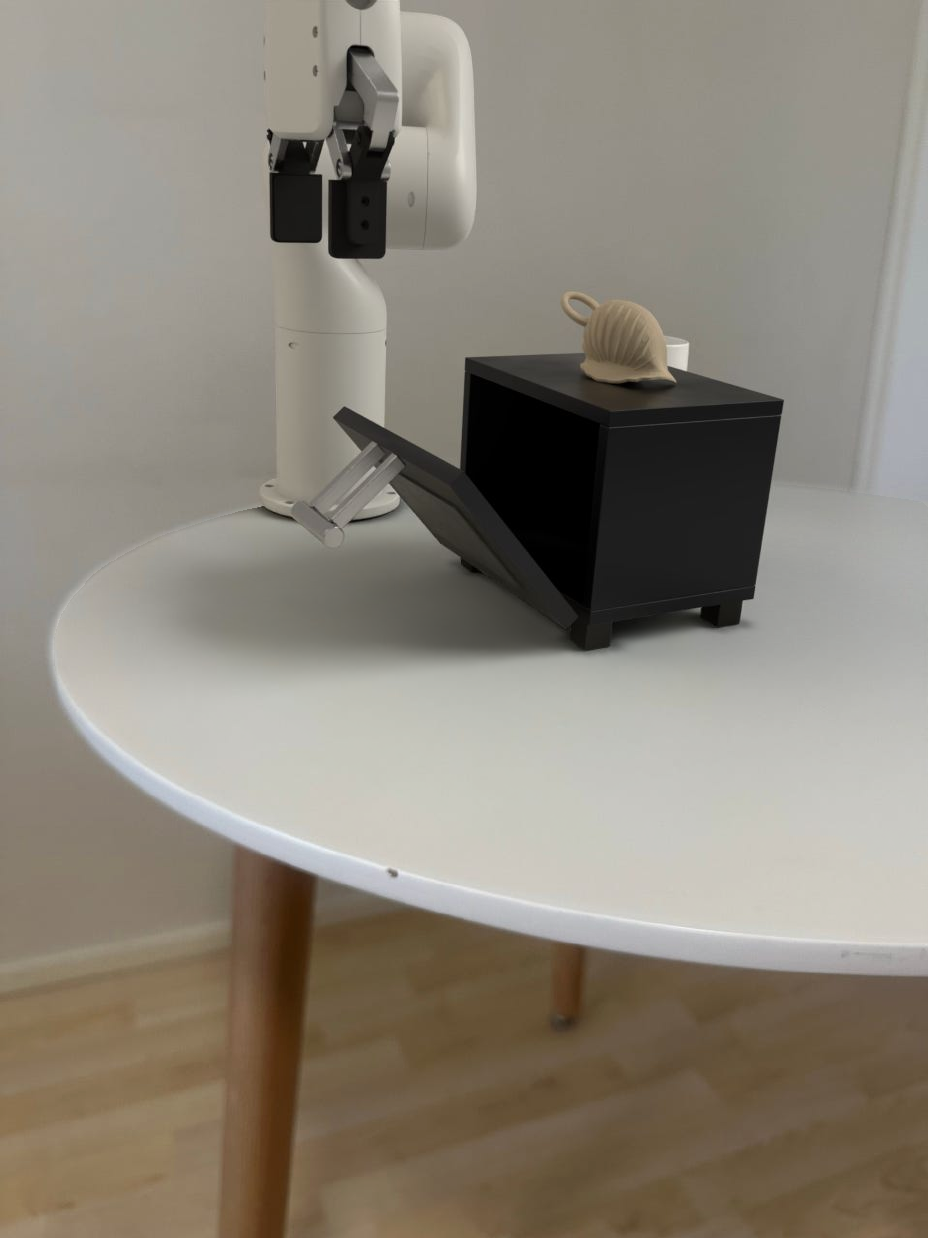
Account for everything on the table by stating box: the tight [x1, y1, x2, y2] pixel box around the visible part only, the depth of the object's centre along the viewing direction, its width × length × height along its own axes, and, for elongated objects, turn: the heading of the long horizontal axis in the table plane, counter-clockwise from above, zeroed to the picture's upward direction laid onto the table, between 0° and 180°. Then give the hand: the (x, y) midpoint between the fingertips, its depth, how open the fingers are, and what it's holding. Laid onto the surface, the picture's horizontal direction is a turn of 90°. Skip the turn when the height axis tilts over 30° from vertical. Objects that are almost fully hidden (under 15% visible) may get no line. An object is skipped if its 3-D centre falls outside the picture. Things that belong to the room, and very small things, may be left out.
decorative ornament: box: [560, 291, 676, 383], centre depth 79 cm, size 4×8×5 cm, turn 44°
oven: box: [459, 352, 785, 651], centre depth 83 cm, size 14×19×16 cm
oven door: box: [291, 406, 579, 630], centre depth 77 cm, size 8×18×14 cm
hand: (324, 249), depth 67 cm, fingers open, 9 cm apart
